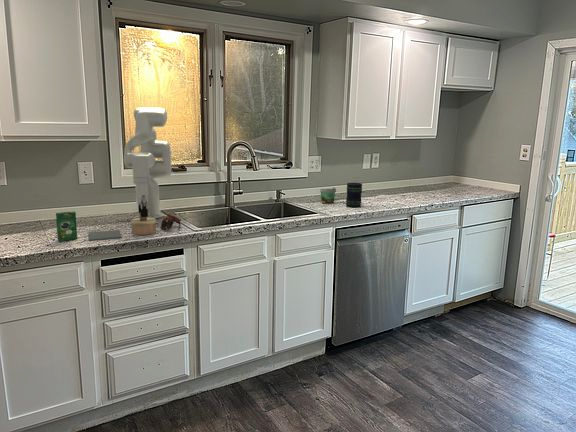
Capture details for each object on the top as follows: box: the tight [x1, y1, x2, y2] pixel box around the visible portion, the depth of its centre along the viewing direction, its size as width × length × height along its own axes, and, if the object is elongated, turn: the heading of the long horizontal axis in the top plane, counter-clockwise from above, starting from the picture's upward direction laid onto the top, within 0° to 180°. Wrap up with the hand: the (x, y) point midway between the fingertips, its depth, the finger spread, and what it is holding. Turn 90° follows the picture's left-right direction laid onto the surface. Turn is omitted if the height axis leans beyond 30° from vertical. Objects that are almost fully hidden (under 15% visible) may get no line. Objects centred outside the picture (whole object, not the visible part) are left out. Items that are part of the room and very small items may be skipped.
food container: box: [319, 187, 337, 205], centre depth 306 cm, size 12×6×10 cm, turn 127°
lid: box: [130, 212, 157, 226], centre depth 224 cm, size 12×12×5 cm
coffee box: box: [55, 210, 78, 243], centre depth 209 cm, size 8×3×13 cm, turn 135°
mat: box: [88, 229, 123, 242], centre depth 219 cm, size 14×14×1 cm
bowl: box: [131, 222, 157, 236], centre depth 225 cm, size 11×11×5 cm
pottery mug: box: [160, 213, 182, 231], centre depth 234 cm, size 12×10×8 cm
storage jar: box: [345, 182, 363, 209], centre depth 297 cm, size 10×10×15 cm
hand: (143, 214), depth 224 cm, fingers open, 9 cm apart
